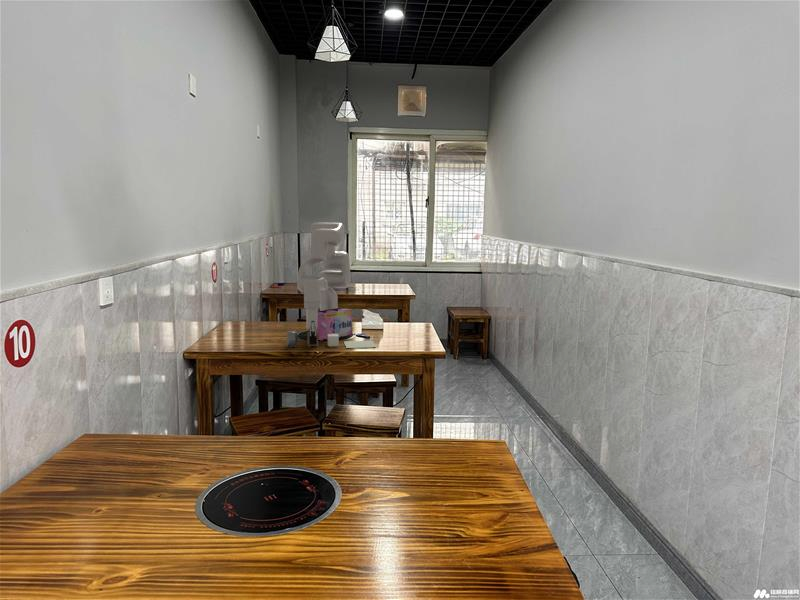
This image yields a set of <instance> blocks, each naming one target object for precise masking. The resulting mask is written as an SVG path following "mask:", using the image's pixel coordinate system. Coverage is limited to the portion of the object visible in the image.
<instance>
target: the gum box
mask: <svg viewBox="0 0 800 600" xmlns="http://www.w3.org/2000/svg"><path fill="white" fill-rule="evenodd" d="M308 330H310V329H308ZM317 330H318V340H320V341H324V340H323V339H326V340H327V334H338V335H339V338H341V336H342V337H347V336H351V334H352V335H353V309H352V308H350V309H349V308H346V307H338V308H335V309H329V310H322V311H320V310H318V326H317Z"/></svg>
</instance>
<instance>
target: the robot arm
mask: <svg viewBox="0 0 800 600" xmlns="http://www.w3.org/2000/svg"><path fill="white" fill-rule="evenodd" d="M310 233H311V237H310V238H311V239H310V248H309V255H308V257H307V258H306V259H305V260H304V261H303V263H302V264H301V265H300V267H299V269H298V271H297V272H298V273H297V281H296V285H297V286H296V287H297V290H299V292H301V293H303V305H304V306H303V308H304V309H305V310H306V311H305V312H306V314H305V315H306V316H305V318H306V320H305V321H306V330H309V329H310V336H309V339H310V345H313V344H317V342H316V330H317V326H318V311H322V310H329V309H335V308H339V306H338V303H339V302H338V300H339V299H338V298H339V297H338V294H337V292H336V291H335V289H346V288H347V289H349V287H350V285H351V262H350V261H351V260H350V256H349V254H348V252H347V251H339V250H336V247H337V246H340V245H341V243H342V241H343V239H344V237H345V233H346V228H345V225H344V224H343V223H342V222H324V221H323V222H320V221H319V222H314V223H312V224H311V225H310ZM318 265H320V267H321V268H322V269H326V270H322V271H320V272H319V273H318V275H317V276H306V274H307V272H308V270H310V269H312V268H315V267H316V266H318Z"/></svg>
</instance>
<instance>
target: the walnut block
mask: <svg viewBox="0 0 800 600" xmlns="http://www.w3.org/2000/svg"><path fill="white" fill-rule="evenodd" d="M306 330H307V329H306ZM306 335H307V337H306V339H307V340H306V341H307V344H308V345H307V348H312V347H311V346H318V347H319V341H318V330H316V342H317V344H313V345H310V339H309V336H310V330H309V329H308V330H307V333H306Z"/></svg>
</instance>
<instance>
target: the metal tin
mask: <svg viewBox="0 0 800 600" xmlns="http://www.w3.org/2000/svg"><path fill="white" fill-rule="evenodd" d="M298 333H299V331H297V330H287V331H286V347H287V346H288V347H287V348H289V347H295V346H298V347H299V339H298V338H299V335H298ZM295 348H296V347H295Z"/></svg>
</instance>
